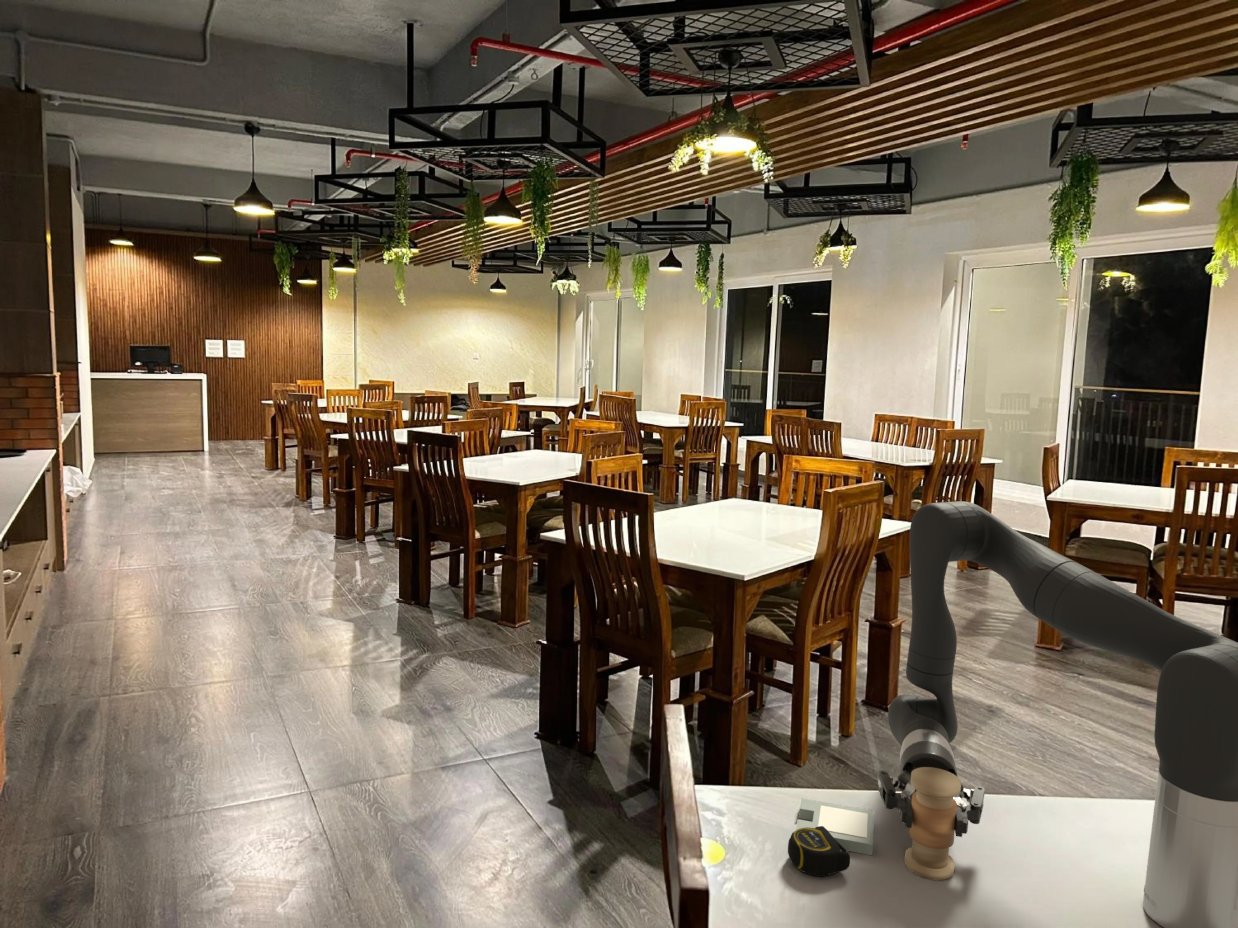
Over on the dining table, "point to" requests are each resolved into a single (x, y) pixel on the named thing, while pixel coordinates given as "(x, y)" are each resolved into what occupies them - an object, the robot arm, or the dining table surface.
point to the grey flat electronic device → (840, 823)
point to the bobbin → (932, 823)
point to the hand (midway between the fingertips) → (934, 824)
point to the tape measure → (817, 852)
